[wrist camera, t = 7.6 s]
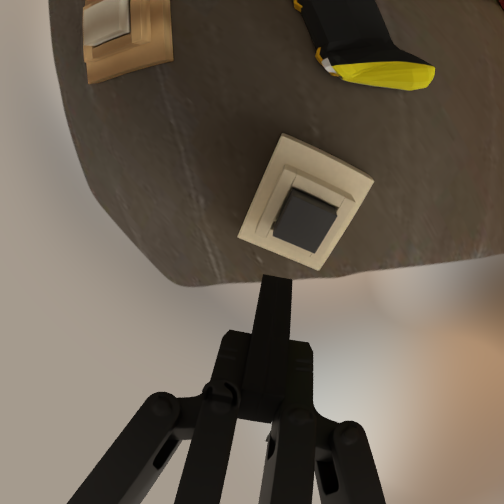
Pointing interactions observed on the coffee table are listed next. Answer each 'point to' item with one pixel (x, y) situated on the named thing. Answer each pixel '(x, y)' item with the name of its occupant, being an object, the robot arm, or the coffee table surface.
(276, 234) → the black key
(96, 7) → the ivory key
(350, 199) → the key block
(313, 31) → the gaming controller
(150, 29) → the key block
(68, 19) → the coffee table surface
